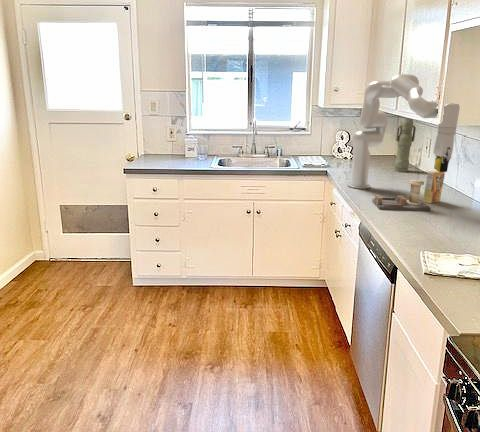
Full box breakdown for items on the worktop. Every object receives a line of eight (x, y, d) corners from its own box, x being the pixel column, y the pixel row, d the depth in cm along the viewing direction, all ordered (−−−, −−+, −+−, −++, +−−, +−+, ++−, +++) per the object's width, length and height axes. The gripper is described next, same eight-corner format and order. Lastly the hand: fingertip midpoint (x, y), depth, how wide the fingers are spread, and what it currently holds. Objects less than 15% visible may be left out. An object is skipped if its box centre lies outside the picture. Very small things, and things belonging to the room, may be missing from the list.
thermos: (389, 169, 312) (395, 117, 301) (405, 169, 313) (412, 117, 303) (395, 172, 303) (402, 118, 293) (412, 172, 305) (419, 119, 295)
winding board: (372, 201, 229) (373, 192, 228) (420, 203, 229) (421, 194, 227) (379, 209, 216) (380, 200, 215) (430, 211, 215) (431, 201, 214)
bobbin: (403, 201, 225) (406, 179, 222) (418, 202, 225) (421, 180, 222) (408, 205, 218) (411, 182, 215) (422, 205, 218) (426, 183, 215)
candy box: (433, 199, 236) (437, 170, 232) (440, 201, 233) (445, 172, 228) (422, 201, 232) (426, 172, 227) (429, 203, 228) (434, 173, 224)
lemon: (448, 173, 212) (451, 156, 209) (442, 174, 208) (445, 157, 206) (437, 171, 216) (440, 154, 213) (431, 172, 213) (433, 155, 210)
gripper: (431, 128, 215) (425, 166, 220) (446, 133, 198) (439, 174, 204) (447, 129, 214) (441, 167, 220) (463, 133, 198) (456, 174, 203)
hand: (440, 169), depth 212 cm, fingers closed on lemon, 5 cm apart
